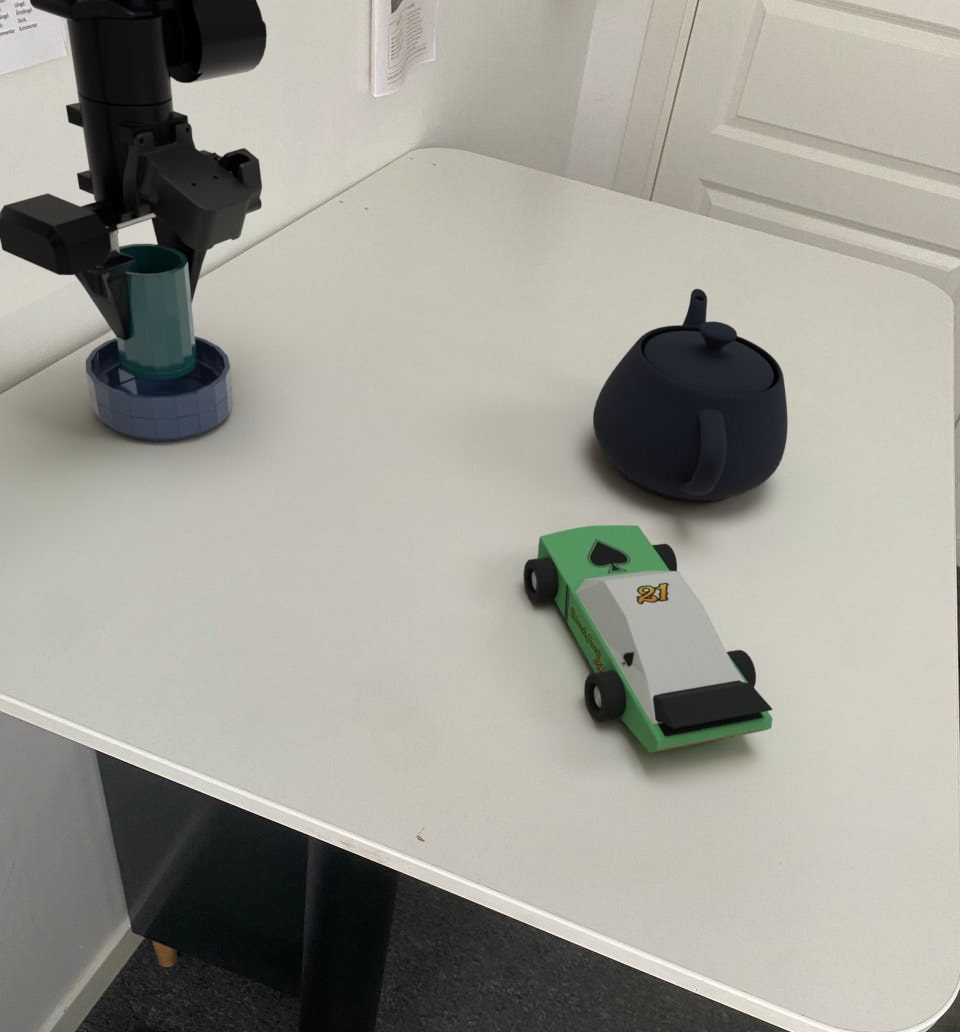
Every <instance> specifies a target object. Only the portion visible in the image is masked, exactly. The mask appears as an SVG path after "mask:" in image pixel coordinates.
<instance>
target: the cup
mask: <svg viewBox="0 0 960 1032" xmlns="http://www.w3.org/2000/svg"><path fill="white" fill-rule="evenodd" d="M119 249H120V252H122V253H124V254H127V255H129V256H131V257H134V258H135V262H134V263H133V264H132V266H131V267H130V268H129V269H128V271H127V272H126V273H125V281H126V290H127V298H128V307H129V315H130V339H128V340H126V341H125V340H123V339H121V338H118V337H117V336H116V335H115V338H116V340H117V346H118V353H119V357H120V364H121V367H122V368H123V369H124V370H125V371H126V372H127V373H129V374H131V375H133V376H135V377H139V378H143V379H149V380H168V379H174V378H178V377H181V376H184V375H186V374H188V373H189V372H191V371H192V370H193V369H194V368H195V366H196V346H195V336H196V334H195V327H194V315H193V314H194V313H193V301H192V302H191V291H190V281H189V270H188V261H187V258H186V256H185V255H184V254H183V253H181V252H180V251H178V250H177V249H174V248H171V247H167V246H164V245H158V244H156V243H131V244H126V245H119Z"/></svg>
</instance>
